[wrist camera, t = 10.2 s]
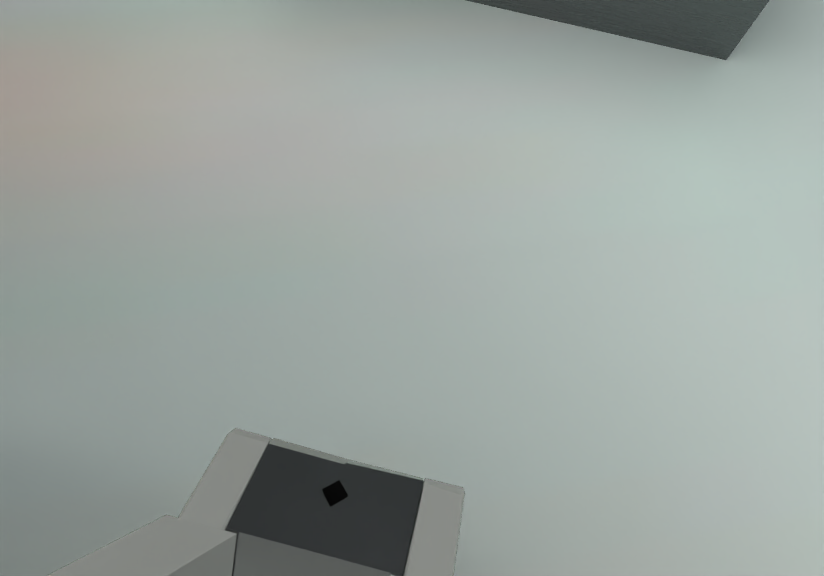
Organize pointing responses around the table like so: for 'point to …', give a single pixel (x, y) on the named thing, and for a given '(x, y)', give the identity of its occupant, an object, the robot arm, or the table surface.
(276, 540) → the robot arm
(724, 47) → the iron bookend
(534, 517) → the table surface
